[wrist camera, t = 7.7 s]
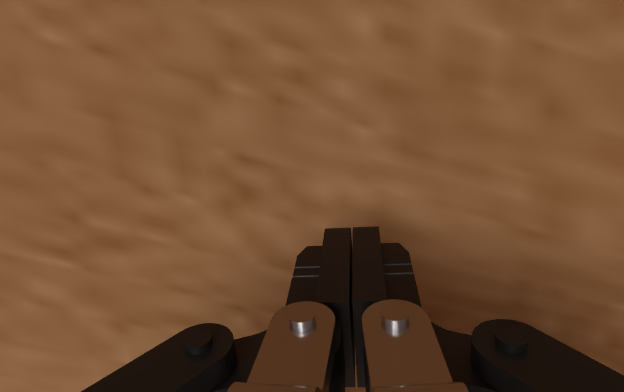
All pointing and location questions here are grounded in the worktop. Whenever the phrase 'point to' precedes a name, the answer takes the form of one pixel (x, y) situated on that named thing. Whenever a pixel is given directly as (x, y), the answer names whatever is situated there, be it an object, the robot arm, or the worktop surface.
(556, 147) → the worktop surface
